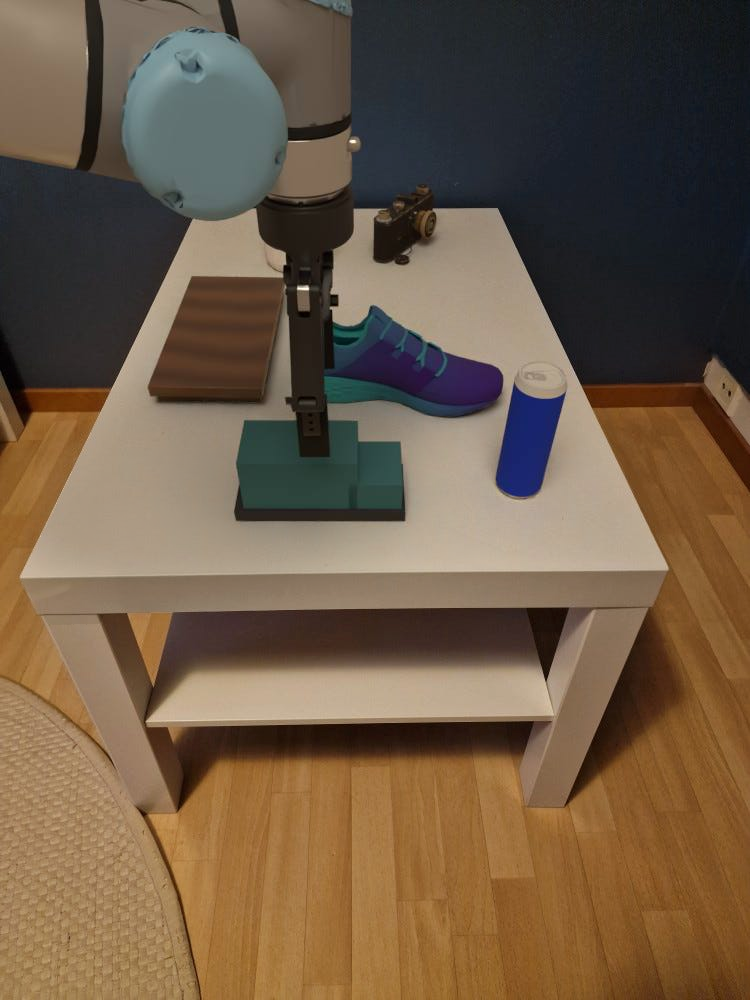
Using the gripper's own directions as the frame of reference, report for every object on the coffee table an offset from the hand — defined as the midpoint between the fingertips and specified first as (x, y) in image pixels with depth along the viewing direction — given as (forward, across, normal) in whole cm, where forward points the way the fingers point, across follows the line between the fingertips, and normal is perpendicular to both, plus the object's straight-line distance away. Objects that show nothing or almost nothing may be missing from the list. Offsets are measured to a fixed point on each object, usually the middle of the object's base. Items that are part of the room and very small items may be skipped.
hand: (318, 408), depth 67 cm
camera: (+13, +61, -12) cm, 63 cm away
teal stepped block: (+12, 0, 0) cm, 12 cm away
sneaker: (+12, +20, -9) cm, 25 cm away
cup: (+12, +54, +7) cm, 56 cm away
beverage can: (+13, +2, -22) cm, 25 cm away
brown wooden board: (+12, +30, +15) cm, 35 cm away
